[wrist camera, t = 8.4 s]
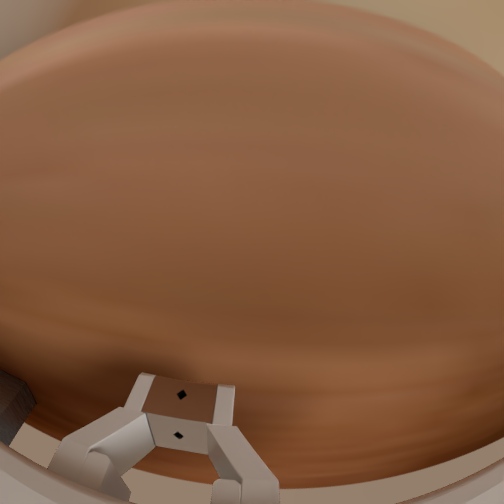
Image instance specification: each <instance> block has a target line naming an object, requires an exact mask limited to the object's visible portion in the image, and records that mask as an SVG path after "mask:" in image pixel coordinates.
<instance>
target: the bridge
mask: <svg viewBox="0 0 504 504" xmlns="http://www.w3.org/2000/svg"><path fill="white" fill-rule="evenodd" d="M36 404H37V403H36V402H35V400H34V398H33V396H32V394H31V392H30V390H29V388H28V386H27V384H26V382H23V381H21V380H19V379H17V378H15V377H13V376H11V375H9V374H7V373H5V372H3V371H2V370H0V441H1V442H2V443H4V444H5V445H7V446H8V447H9V445H10V443H11V442H12V440H13V438H14V437H15V435H16V434H17V432H18V431H19V429H20V428H21V426H22V424H23V423H24V421H25V420H26V418H27V417H28V415H29V414H30V412H31V411H32V409H33V408H34V407H35V405H36Z"/></svg>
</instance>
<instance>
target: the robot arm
mask: <svg viewBox="0 0 504 504" xmlns="http://www.w3.org/2000/svg"><path fill="white" fill-rule="evenodd" d="M234 396H235V385H225V384H215V383H205V382H197V381H189V380H187V381H186V380H180V379H175V378H169V377H164V376H159V375H153V374H148V373H144V372H142V373H141V374H139V376H138V378H137V380H136V382H135V384H134V386H133V388H132V390H131V393H130V395H129V397H128V399H127V401H126V403H125V406H124V408H123V407H118V408H116V409H115V410H113V411H111V412H109V413H108V414H106V415H104V416H102V417H101V418H99V419H97V420H95V421H93V422H92V423H90V424H88V425H86V426H84V427H83V428H81V429H79V430H77V431H75V432H73V433H71V434H70V435H68V436H66V437H64V438H63V440H62V441H61V443H60V445H59V447H58V449H57V451H56V453H55V455H54V457H53V458H52V461H51V462H50V464H49V466H48V468H47V469H46V468H44V467H42V466H41V465H39V464H37V463H35V462H33V461H32V460H30V459H28V458H26V457H25V456H23V455H21V454H20V453H18V452H16V451H15V450H13V449H12V448H10V447H8V446H7V445H5V444H4V443H2V442H1V441H0V504H135V503H132V502H128V501H129V498H130V494H131V491H130V490H129V488H128V487H127V486H126V484H125V483H124V481H123V480H122V478H121V477H120V476H122V475H123V474H124V473H125V472H127V471H128V470H129V469H130V468H131V467H133V466H134V465H135V464H136V463H137V462H139V461H140V460H141V459H142V458H143V457H145V456H146V455H147V454H148V453H149V452H150V451H151V450H153V449H154V448H155V446H160V447H165V448H171V449H177V450H183V451H189V452H195V453H201V454H208V457H209V458H210V460H211V462H212V464H213V466H214V468H215V469H216V471H217V473H218V475H219V476H220V478H221V479H218V480H216V481H215V482H213V489H212V497H211V504H280V498H279V480H278V479H277V478H276V477H275V476H274V474H273V473H272V472H271V471H270V469H269V468H268V467H267V466H266V465H265V463H264V462H263V461H262V459H261V458H260V457H259V456H258V454H257V453H256V452H255V450H254V449H253V448H252V446H251V445H250V444H249V442H248V441H247V440H246V438H245V437H244V436H243V434H242V433H241V432H240V430H239V429H238V427H237V426H232V424H233V410H234ZM396 504H504V458H502V459H501V460H499V461H497V462H495V463H493V464H491V465H490V466H488V467H486V468H484V469H482V470H480V471H478V472H476V473H474V474H472V475H470V476H468V477H466V478H464V479H462V480H460V481H457V482H455V483H453V484H450V485H448V486H446V487H443V488H441V489H438V490H436V491H433V492H430V493H428V494H425V495H422V496H419V497H416V498H413V499H410V500H407V501H403V502H400V503H396Z"/></svg>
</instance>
